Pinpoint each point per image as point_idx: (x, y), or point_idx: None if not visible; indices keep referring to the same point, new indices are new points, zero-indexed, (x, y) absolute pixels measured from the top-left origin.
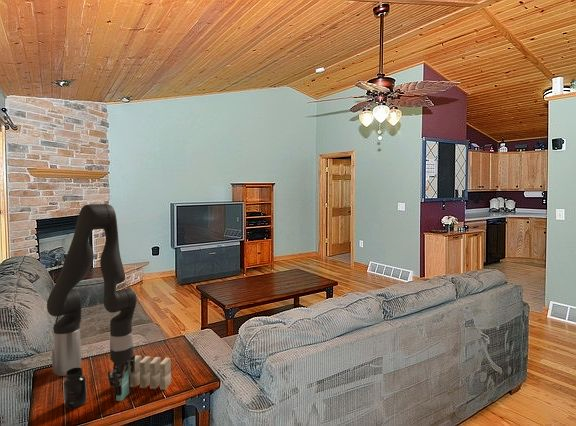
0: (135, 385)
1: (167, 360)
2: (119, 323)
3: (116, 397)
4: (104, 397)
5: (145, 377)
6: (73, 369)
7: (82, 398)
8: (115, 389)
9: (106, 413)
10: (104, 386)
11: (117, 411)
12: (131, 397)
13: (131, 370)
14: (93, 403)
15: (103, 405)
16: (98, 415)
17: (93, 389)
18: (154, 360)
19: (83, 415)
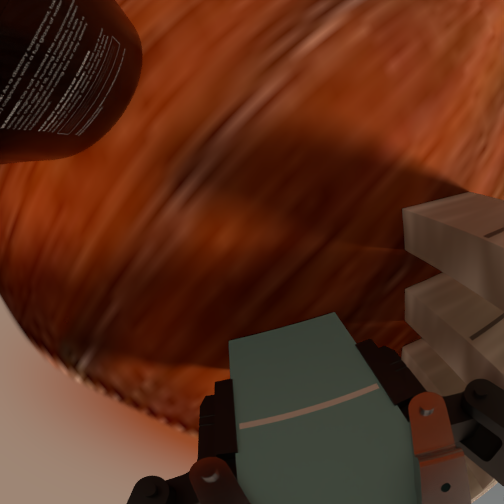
0: (412, 326)
1: (473, 501)
2: None
3: (230, 357)
4: (223, 219)
5: None
6: None
7: (31, 160)
8: (202, 441)
9: (106, 374)
10: (356, 85)
11: (154, 409)
12: None
13: (454, 441)
14: (119, 208)
15: (141, 302)
16: (70, 348)
17: (283, 31)
18: (493, 483)
19: (21, 268)
